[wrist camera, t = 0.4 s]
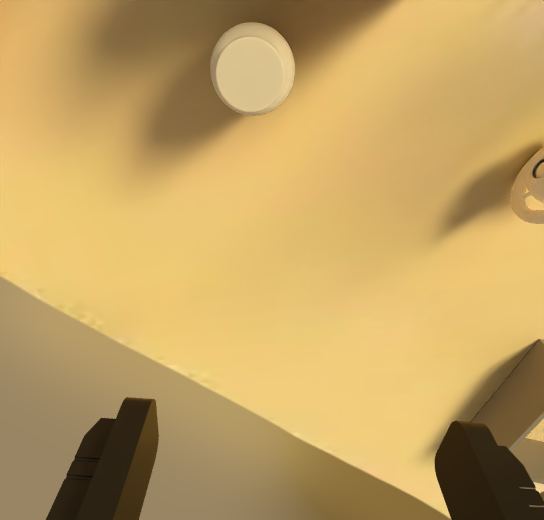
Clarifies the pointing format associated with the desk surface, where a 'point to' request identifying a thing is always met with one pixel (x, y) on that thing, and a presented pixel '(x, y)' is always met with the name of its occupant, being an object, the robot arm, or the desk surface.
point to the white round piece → (529, 189)
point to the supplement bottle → (252, 68)
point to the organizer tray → (520, 412)
